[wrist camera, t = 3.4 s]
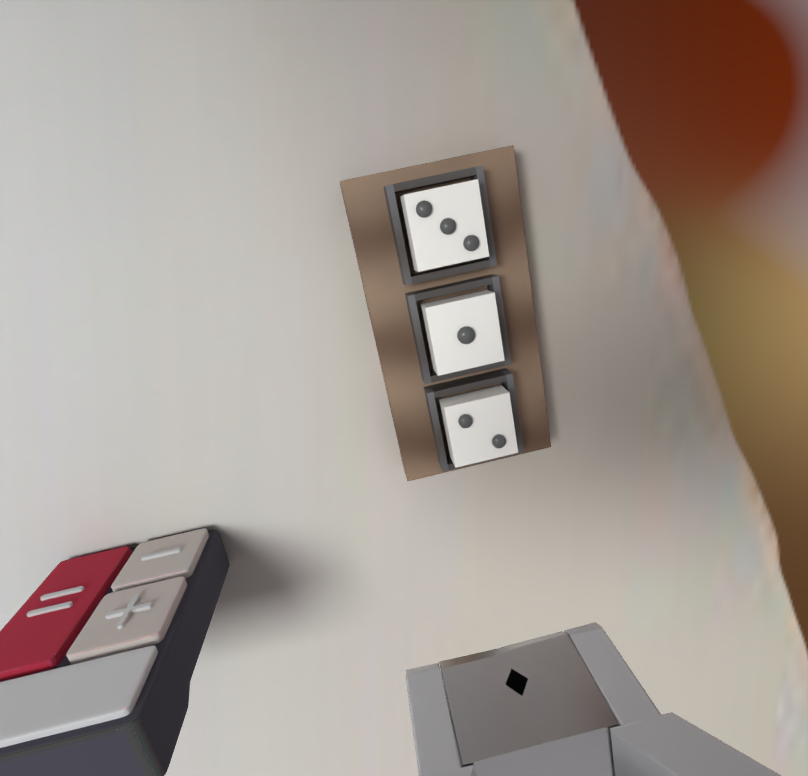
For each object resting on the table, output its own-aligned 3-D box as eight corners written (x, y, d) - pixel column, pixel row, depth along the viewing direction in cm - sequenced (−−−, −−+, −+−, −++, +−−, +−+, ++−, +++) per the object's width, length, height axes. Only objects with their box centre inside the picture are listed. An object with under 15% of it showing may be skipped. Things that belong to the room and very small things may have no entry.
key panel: (340, 184, 30) (340, 178, 27) (502, 150, 31) (521, 140, 28) (404, 468, 36) (410, 491, 33) (540, 435, 37) (559, 455, 33)
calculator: (215, 518, 35) (131, 708, 21) (234, 569, 37) (165, 782, 22) (55, 555, 35) (-144, 777, 21) (79, 606, 36) (-92, 848, 22)
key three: (400, 197, 28) (404, 194, 26) (470, 182, 28) (478, 178, 27) (414, 270, 29) (418, 272, 28) (481, 255, 29) (490, 256, 28)
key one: (420, 304, 30) (425, 308, 28) (486, 289, 30) (495, 292, 28) (433, 368, 31) (438, 376, 29) (496, 354, 31) (505, 361, 30)
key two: (439, 399, 32) (444, 408, 30) (501, 384, 32) (510, 393, 30) (450, 457, 33) (456, 469, 31) (509, 442, 33) (519, 453, 31)
